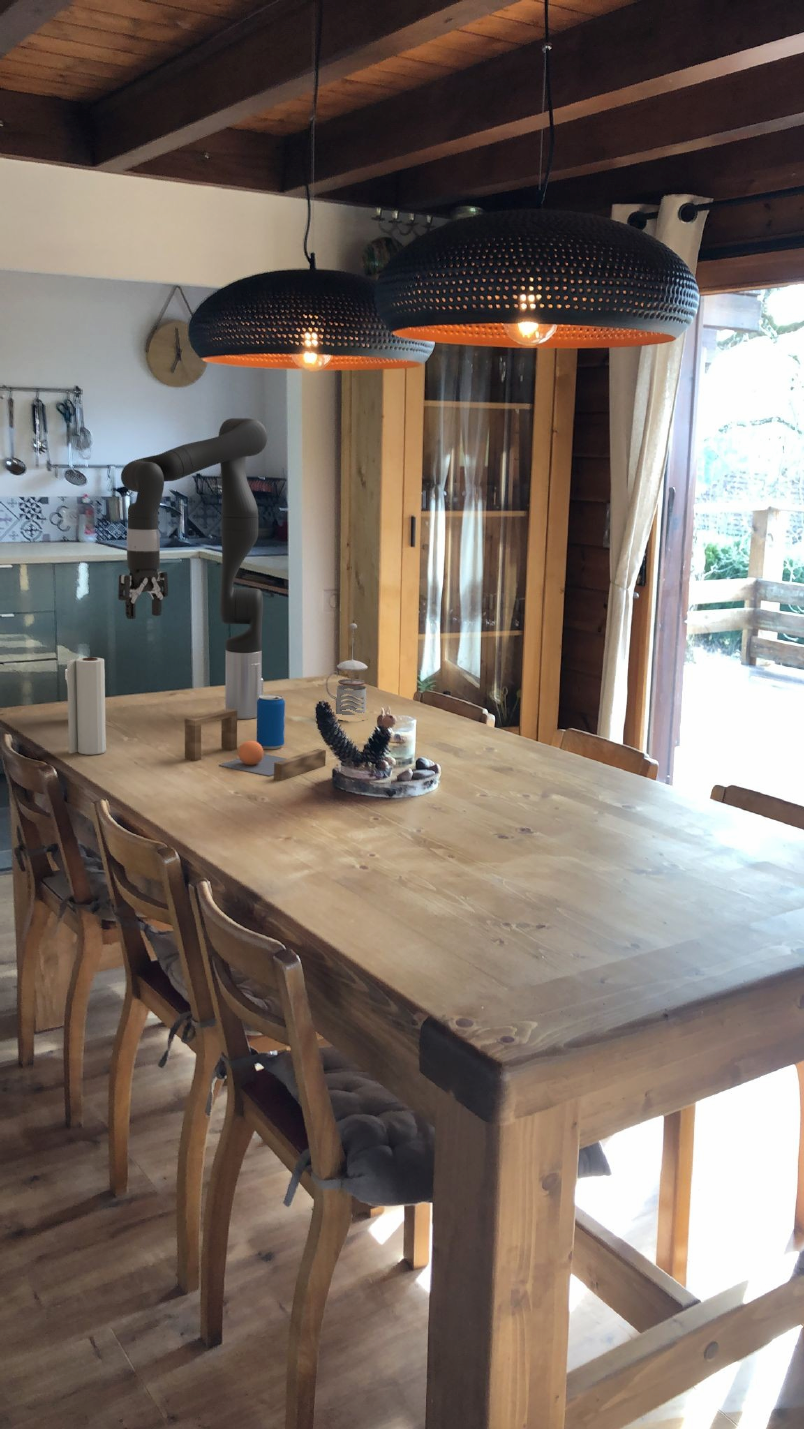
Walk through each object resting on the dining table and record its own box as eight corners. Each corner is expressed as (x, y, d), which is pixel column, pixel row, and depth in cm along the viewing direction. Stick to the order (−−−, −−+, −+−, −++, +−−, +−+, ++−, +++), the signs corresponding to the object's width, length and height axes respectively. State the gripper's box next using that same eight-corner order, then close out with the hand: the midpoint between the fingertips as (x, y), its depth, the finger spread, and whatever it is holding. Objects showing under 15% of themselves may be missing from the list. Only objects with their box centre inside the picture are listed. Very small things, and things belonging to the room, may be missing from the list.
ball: (271, 747, 262) (264, 769, 263) (256, 736, 265) (249, 758, 267) (252, 747, 258) (245, 770, 259) (237, 736, 261) (230, 758, 263)
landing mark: (258, 753, 273) (258, 752, 273) (308, 763, 266) (308, 762, 266) (218, 765, 261) (218, 764, 261) (269, 776, 254) (269, 775, 254)
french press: (368, 722, 309) (371, 626, 304) (323, 720, 309) (326, 625, 304) (370, 714, 319) (373, 621, 313) (326, 712, 319) (328, 619, 313)
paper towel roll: (109, 749, 272) (108, 657, 267) (100, 756, 266) (98, 661, 261) (78, 747, 272) (76, 655, 268) (69, 754, 266) (66, 659, 262)
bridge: (184, 759, 266) (184, 718, 264) (226, 746, 278) (227, 708, 276) (195, 761, 265) (195, 720, 263) (236, 748, 277) (237, 710, 275)
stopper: (318, 764, 266) (318, 748, 265) (325, 765, 265) (325, 750, 264) (273, 778, 253) (274, 762, 252) (281, 780, 252) (281, 764, 251)
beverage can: (282, 750, 277) (283, 699, 274) (254, 749, 277) (255, 698, 274) (285, 744, 283) (286, 694, 281) (258, 742, 283) (259, 693, 281)
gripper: (133, 551, 272) (134, 621, 276) (176, 548, 284) (176, 615, 288) (109, 548, 276) (110, 618, 280) (152, 546, 288) (153, 612, 291)
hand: (143, 617), depth 284 cm, fingers open, 8 cm apart
